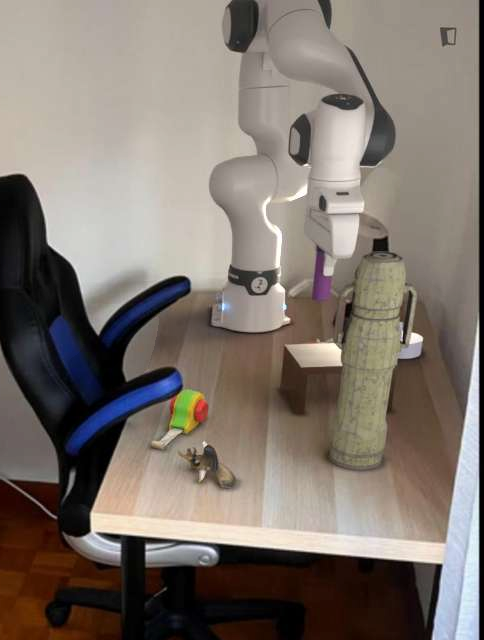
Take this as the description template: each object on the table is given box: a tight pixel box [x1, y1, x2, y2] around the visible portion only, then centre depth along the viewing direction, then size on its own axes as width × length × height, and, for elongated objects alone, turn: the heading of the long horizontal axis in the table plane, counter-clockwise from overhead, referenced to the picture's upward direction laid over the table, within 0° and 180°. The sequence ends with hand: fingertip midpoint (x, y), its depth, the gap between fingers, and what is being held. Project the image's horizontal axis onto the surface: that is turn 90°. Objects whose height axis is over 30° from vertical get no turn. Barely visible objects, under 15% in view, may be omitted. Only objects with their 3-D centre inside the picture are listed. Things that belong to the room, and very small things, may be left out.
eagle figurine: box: [176, 441, 237, 489], centre depth 161 cm, size 8×7×9 cm
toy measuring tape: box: [150, 389, 209, 450], centre depth 178 cm, size 6×20×7 cm, turn 147°
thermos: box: [328, 250, 419, 471], centre depth 159 cm, size 9×12×35 cm
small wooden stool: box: [279, 342, 399, 415], centre depth 188 cm, size 13×18×10 cm
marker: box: [311, 245, 333, 302], centre depth 178 cm, size 4×4×12 cm
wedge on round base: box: [398, 321, 424, 360], centre depth 213 cm, size 9×7×13 cm
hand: (323, 271), depth 179 cm, fingers closed on marker, 3 cm apart
